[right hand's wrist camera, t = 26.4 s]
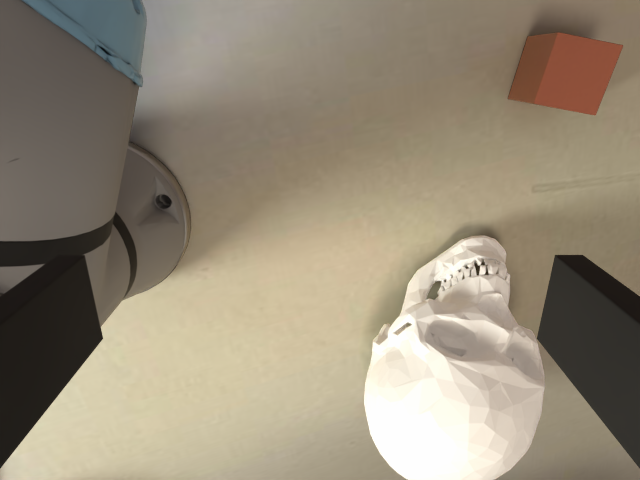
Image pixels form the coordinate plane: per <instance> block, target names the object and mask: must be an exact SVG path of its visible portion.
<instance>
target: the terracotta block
mask: <svg viewBox="0 0 640 480" xmlns="http://www.w3.org/2000/svg"><path fill="white" fill-rule="evenodd" d="M622 47H623V45H619V44H614V43H609V42H605V41H600V40H595V39H590V38H585V37H580V36H575V35H570V34H565V33H560V32H556V33H549V34H541V35H534V36H528V37H527V40H526V43H525V46H524V50H523V53H522V56H521V59H520V62H519V65H518V68H517V71H516V75H515V78H514V81H513V84H512V87H511V90H510V93H509V96H508V99H511V100H516V101H521V102H526V103H532V104H537V105H542V106H547V107H553V108H558V109H563V110H569V111H574V112H579V113H585V114H590V115H596V113H597V111H598V108H599V106H600V103H601V100H602V98H603V95H604V93H605V90H606V88H607V85H608V83H609V80H610V78H611V75H612V73H613V70H614V68H615V65H616V63H617V60H618V58H619V55H620V53H621V50H622Z"/></svg>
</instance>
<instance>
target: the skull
mask: <svg viewBox="0 0 640 480" xmlns="http://www.w3.org/2000/svg"><path fill="white" fill-rule="evenodd" d="M482 262H485V265H488V266H487V268H488V273H489V275H484V274H485V273H486V266H484V265H480V264H481V263H482ZM505 262H506V251H505V249H504V248H503V247H502V246H501V245H500V244H499V243H498V241H497V240H496V239H494V238H491V237H488V236H484V235H482V236H471V237H468V238H465V239H461V240H460V241H458V242H457V243H456V244H454V245H453V246H452V247H450V248H449V249H447V250H446V251H445V252H443V253H442V254H440V255H439V256H437V257H436V258H435V259H433V260H432V261H430V262H429V263H427V264H426V265H424V266H423V267H422V268H420V269H419V270H417V271H416V273H415V274H414V276H413V277H412V279H411V280H410V282H409V283H408V287H407V291H406V296H405V300H404V303H403V307H402V311H401V313H400V316H399V317H398V318H397V319H396V320H395V322H394V323H393V324H392V325H390V324H384V325H383V327H382V328H381V330H380V333H379V334H378V335H377V336H376V337H375V338H374V339H373V348H372V358H371V363H370V366H369V370H368V373H367V378H366V383H365V397H364V404H365V410H366V416H367V420H368V425H369V429H370V433H371V436H372V438H373V441H374V443H375V445H376V447H377V448H378V450H379V452H380V454H381V455H382V456H383V457H384V459H385V460H386V461H387V463H388V464H389V465H390V466H391V467H392V468H393V469H394V470H395V471H396V472H397V473H399V474H400V475H402V476H403V477H405V478H406V479H408V480H494V479H496V478H498V477H499V476H501V475H502V474H504V473H505V472H507V471H508V470H510V469H511V468H512V467H513V466H514V465H515V464H516V463H517V462H518V461H519V460H520V459H521V457H522V456H523V455H524V454H525V453H526V452H527V450H528V449H529V447H530V445H531V442H532V440H533V437H534V434H535V431H536V428H537V425H538V422H539V419H540V415H541V412H542V402H543V393H544V388H545V381H544V380H545V375H544V370H543V365H542V359H541V356H540V352H539V348H538V343H537V340H536V337H535V335H534V333H533V331H532V330H530V329H527V328H525V327H523V326H520V325H518V324H517V322H516V320H515V319H514V317H513V315H512V313H511V312H510V310H509V308H508V303H509V297H510V274H509V273H507V268H506V265H505ZM475 263H477V265H478V266H479V265H480V272H479V275H477V274H476V269H475V266H474V264H475ZM467 266H468V267H469V268H468V269H466V268H465V267H467ZM470 270H471V277H470ZM452 276H453V278H452ZM463 276H464V277H465V279H463V280H462V278H463ZM446 279H447V280H446ZM445 280H446V282H445ZM436 281H442V282H441V287H440V289H439V291H438V292H437V294H438V295H439V296H438V297H437V298H436V299H435V300H433V299H429V298H428V299H427V300H426V298H427V296H428V294H429V292H430V289H431V287H432V286H433V284H434V283H435V282H436ZM408 323H411V325H410V326H409V327H407V324H408Z"/></svg>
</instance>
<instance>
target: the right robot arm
mask: <svg viewBox="0 0 640 480" xmlns="http://www.w3.org/2000/svg"><path fill="white" fill-rule="evenodd" d="M146 21H147V20H146V12H145V8H144V5H143V2H142V0H0V468H1V467H2V466H3V464H4V463H5V462H6V460H7V459H8V458H9V457H10V455H11V454H12V453H13V452H14V450H15V449H16V448H17V447H18V445H19V444H20V443H21V442H22V440H23V439H24V438H25V436H26V435H27V434H28V433H29V431H30V430H31V429H32V428H33V426H34V425H35V424H36V423H37V421H38V420H39V419H40V418H41V416H42V415H43V414H44V412H45V411H46V410H47V409H48V407H49V406H50V405H51V404H52V402H53V401H54V400H55V399H56V397H57V396H58V395H59V393H60V392H61V391H62V390H63V388H64V387H65V386H66V385H67V383H68V382H69V381H70V380H71V378H72V377H73V376H74V375H75V373H76V372H77V371H78V369H79V368H80V367H81V366H82V364H83V363H84V362H85V361H86V359H87V358H88V357H89V356H90V354H91V353H92V352H93V351H94V349H95V348H96V347H97V345H98V344H99V343H100V342H101V340H102V339H103V336H102V332H101V326H102V324H103V323H104V322H105V321H106V320H107V318H108V317H109V316H110V315H111V313H112V312H113V311H114V310H115V309H116V307H117V306H118V305H119V304H120V302H121V301H122V300H125V299H127V298H129V297H131V296H134V295H136V294H139V293H142V292H144V291H147V290H149V289H150V288H152V287H154V286H156V285H157V284H159V283H160V282H162V281H163V280H164V279H165V278H166V277H167V276H168V275H169V274H170V273H171V272H172V271H173V270H174V268H175V267H176V266H177V264H178V263H179V261H180V260H181V258H182V257H183V255H184V253H185V251H186V248H187V245H188V242H189V237H190V229H191V220H190V212H189V208H188V204H187V201H186V198H185V196H184V193H183V191H182V189H181V187H180V185H179V184H178V182H177V181H176V179H175V178H174V176H173V175H172V174H171V172H170V171H169V170H168V169H167V168H166V167H165V166H164V165H163V164H162V163H161V162H160V161H159V160H158V159H157V158H155V157H154V156H153V155H151V154H150V153H149V152H147V151H146V150H144V149H142V148H141V147H139V146H137V145H135V144H132V143H130V142H129V137H130V132H131V126H132V121H133V116H134V111H135V105H136V100H137V95H138V90H139V87H142V85H143V78H142V75H141V74H140V71H141V63H142V55H143V47H144V40H145V32H146ZM537 339H538V340H539V342H540V343H541V344H542V345H543V347H544V348H545V349H546V351H547V352H548V353H549V354H550V356H551V357H552V358H553V359H554V361H555V362H556V363H557V364H558V366H559V367H560V368H561V369H562V371H563V372H564V373H565V375H566V376H567V377H568V378H569V380H570V381H571V382H572V383H573V385H574V386H575V387H576V388H577V390H578V391H579V392H580V393H581V395H582V396H583V397H584V399H585V400H586V401H587V402H588V404H589V405H590V406H591V407H592V409H593V410H594V411H595V412H596V414H597V415H598V416H599V418H600V419H601V420H602V421H603V423H604V424H605V425H606V426H607V428H608V429H609V430H610V431H611V433H612V434H613V435H614V436H615V438H616V439H617V440H618V442H619V443H620V444H621V445H622V447H623V448H624V449H625V450H626V452H627V453H628V454H629V455H630V457H631V458H632V459H633V460H634V462H635V463H636V464H637V466H638V467H639V468H640V296H638V295H637V294H636V293H634V292H633V291H631V290H630V289H629V288H627V287H626V286H624V285H623V284H622V283H620V282H619V281H618V280H616V279H615V278H613V277H612V276H611V275H609V274H608V273H607V272H605V271H604V270H602V269H601V268H600V267H598V266H597V265H596V264H594V263H593V262H591V261H590V260H589V259H587V258H586V257H585V256H583V255H555V258H554V263H553V267H552V272H551V277H550V281H549V286H548V290H547V295H546V300H545V304H544V309H543V313H542V318H541V323H540V327H539V332H538V336H537Z"/></svg>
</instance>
